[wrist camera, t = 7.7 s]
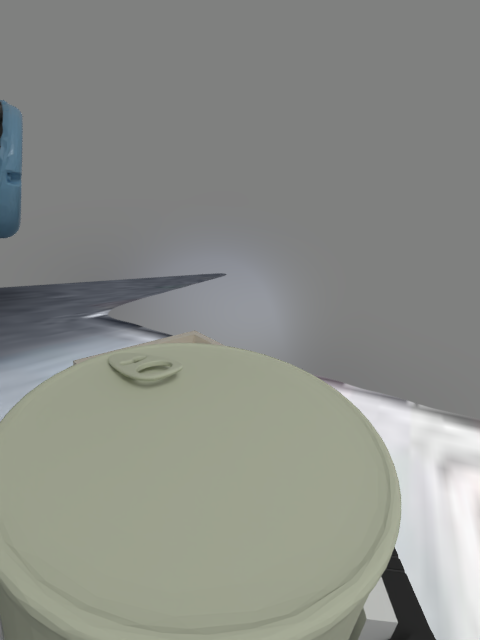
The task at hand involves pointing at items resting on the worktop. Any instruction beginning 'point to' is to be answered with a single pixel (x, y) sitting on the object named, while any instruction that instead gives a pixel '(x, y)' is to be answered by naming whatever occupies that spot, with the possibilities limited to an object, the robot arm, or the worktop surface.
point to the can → (190, 501)
